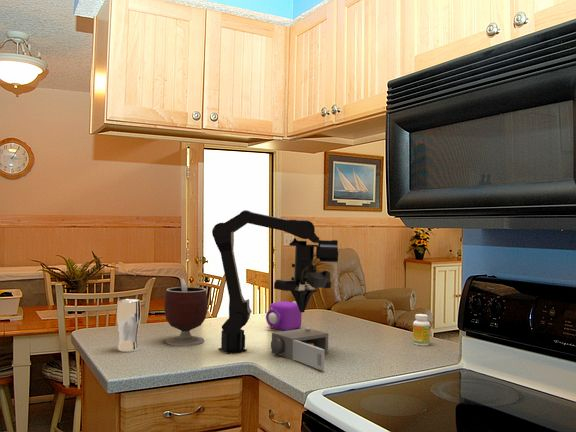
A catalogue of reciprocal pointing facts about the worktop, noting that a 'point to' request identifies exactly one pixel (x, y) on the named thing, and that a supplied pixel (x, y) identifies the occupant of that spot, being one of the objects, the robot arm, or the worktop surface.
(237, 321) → the robot arm
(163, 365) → the worktop surface
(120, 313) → the beer glass
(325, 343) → the box
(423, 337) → the supplement bottle
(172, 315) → the mate gourd
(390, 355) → the worktop surface
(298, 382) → the worktop surface
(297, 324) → the toy camera
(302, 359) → the camera door
